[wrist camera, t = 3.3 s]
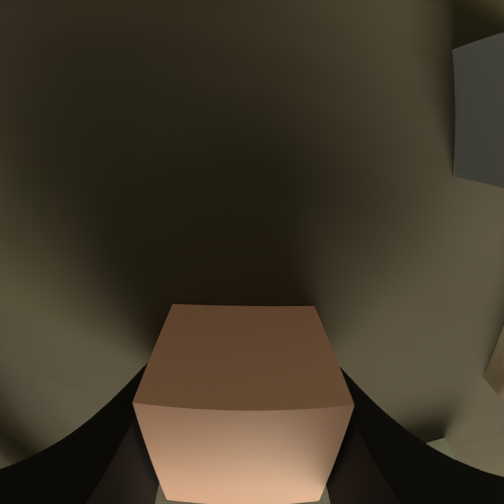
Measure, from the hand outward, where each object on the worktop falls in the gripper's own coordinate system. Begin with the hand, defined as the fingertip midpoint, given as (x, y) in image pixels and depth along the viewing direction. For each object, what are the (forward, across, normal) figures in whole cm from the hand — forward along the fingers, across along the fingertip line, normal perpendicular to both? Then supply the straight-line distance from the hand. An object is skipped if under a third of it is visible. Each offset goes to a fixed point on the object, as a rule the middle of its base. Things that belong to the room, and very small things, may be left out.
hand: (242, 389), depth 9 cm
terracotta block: (+1, 0, 0) cm, 1 cm away
